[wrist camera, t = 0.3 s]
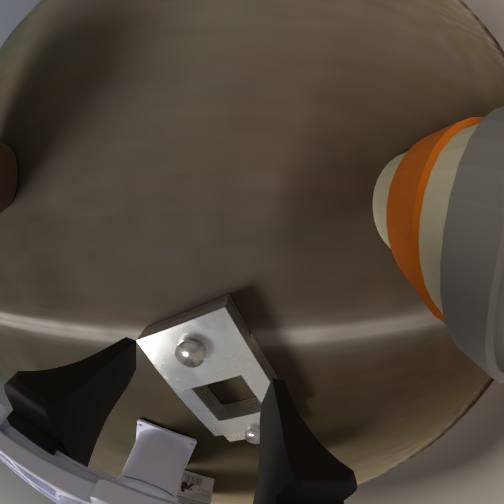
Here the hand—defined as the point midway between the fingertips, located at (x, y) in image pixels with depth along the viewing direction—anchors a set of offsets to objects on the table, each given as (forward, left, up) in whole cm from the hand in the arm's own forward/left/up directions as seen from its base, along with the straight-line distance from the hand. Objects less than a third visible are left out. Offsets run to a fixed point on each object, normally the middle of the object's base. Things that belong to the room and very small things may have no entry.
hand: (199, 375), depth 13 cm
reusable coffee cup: (+13, -12, -10) cm, 20 cm away
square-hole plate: (-9, -3, -10) cm, 14 cm away
